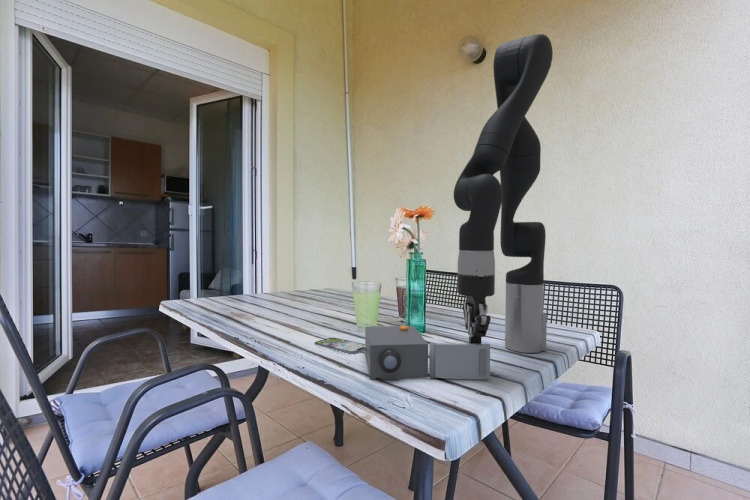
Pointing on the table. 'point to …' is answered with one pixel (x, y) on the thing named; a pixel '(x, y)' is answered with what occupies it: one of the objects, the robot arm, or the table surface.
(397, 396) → the table surface
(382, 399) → the table surface
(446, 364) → the side door
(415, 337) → the camera body
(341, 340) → the smartphone
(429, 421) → the table surface
